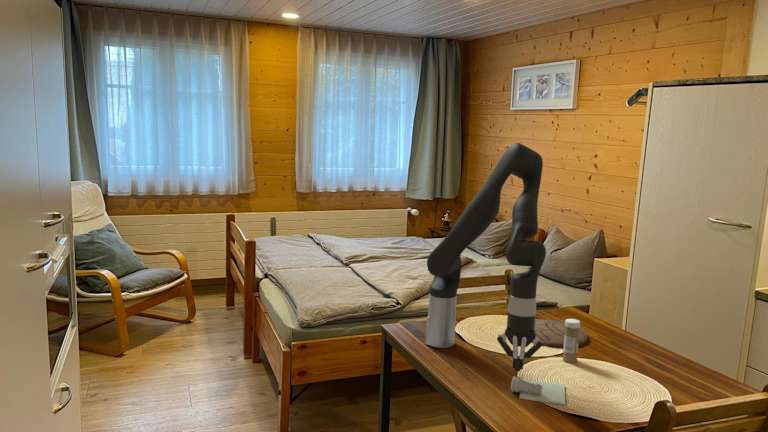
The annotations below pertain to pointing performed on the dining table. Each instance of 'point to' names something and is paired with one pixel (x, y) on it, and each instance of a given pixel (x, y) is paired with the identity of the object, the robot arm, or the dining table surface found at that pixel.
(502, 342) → the robot arm
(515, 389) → the rook chess piece
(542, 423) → the dining table surface
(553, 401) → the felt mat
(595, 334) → the dining table surface
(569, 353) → the sprinkles bottle
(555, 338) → the trivet
